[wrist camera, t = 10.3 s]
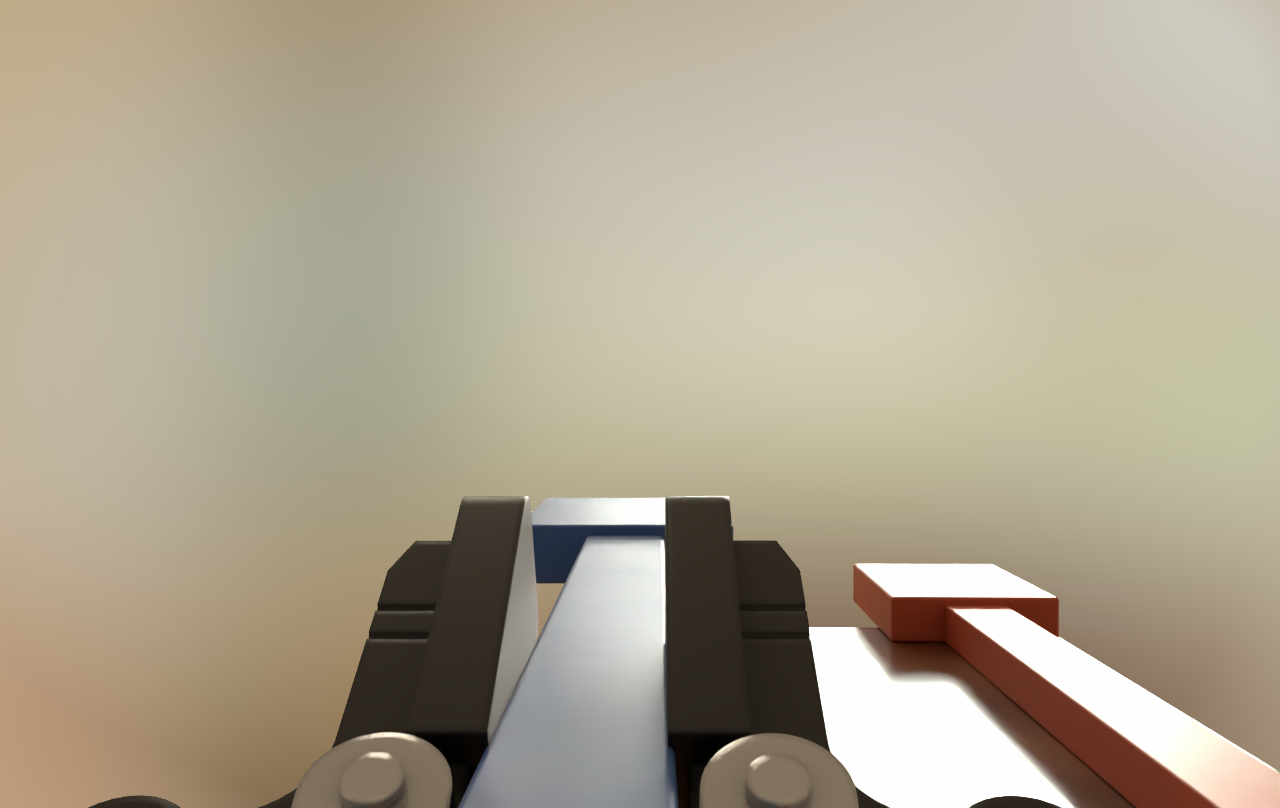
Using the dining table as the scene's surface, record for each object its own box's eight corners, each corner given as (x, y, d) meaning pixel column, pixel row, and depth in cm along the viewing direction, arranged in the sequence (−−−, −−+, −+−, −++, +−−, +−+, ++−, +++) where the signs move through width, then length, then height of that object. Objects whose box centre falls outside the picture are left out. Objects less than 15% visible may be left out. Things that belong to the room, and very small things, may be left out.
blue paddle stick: (892, 987, 8) (893, 804, 8) (230, 981, 8) (227, 802, 8) (717, 544, 30) (717, 497, 30) (545, 544, 30) (545, 497, 30)
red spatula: (1501, 918, 15) (1500, 823, 15) (1147, 916, 15) (1147, 821, 15) (993, 601, 37) (993, 564, 37) (852, 601, 37) (853, 563, 37)
